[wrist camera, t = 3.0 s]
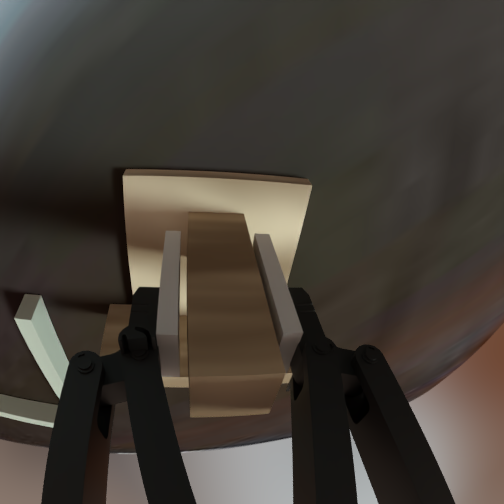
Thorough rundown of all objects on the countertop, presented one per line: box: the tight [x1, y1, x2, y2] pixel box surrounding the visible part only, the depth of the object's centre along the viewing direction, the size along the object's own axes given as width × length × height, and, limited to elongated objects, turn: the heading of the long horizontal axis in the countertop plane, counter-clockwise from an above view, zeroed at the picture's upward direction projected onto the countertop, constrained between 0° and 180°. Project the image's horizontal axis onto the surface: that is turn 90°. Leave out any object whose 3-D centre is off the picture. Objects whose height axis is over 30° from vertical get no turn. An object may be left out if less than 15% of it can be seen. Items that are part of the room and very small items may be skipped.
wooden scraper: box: [100, 169, 312, 417], centre depth 16 cm, size 11×14×11 cm
